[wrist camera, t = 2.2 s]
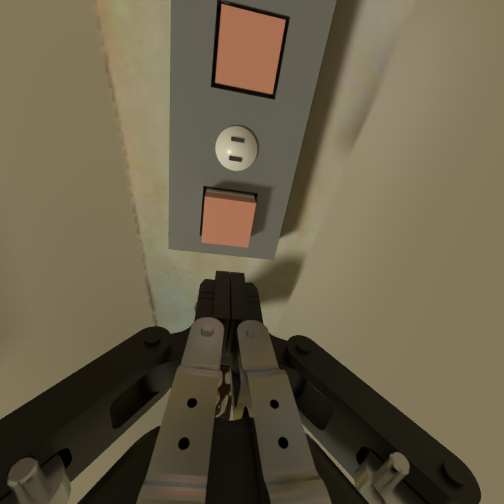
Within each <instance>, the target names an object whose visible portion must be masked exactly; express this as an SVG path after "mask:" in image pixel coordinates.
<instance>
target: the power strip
mask: <svg viewBox="0 0 504 504" xmlns="http://www.w3.org/2000/svg"><path fill="white" fill-rule="evenodd" d="M336 2H337V0H171V56H170V153H169V249H173V250H182V251H192V252H202V253H211V254H221V255H231V256H241V257H250V258H260V259H270V260H274V258H275V254H276V249H277V245H278V241H279V237H280V233H281V229H282V225H283V220H284V216H285V212H286V208H287V204H288V200H289V196H290V192H291V187H292V183H293V179H294V175H295V171H296V167H297V163H298V159H299V154H300V150H301V146H302V142H303V138H304V134H305V130H306V125H307V121H308V117H309V113H310V109H311V105H312V101H313V97H314V92H315V88H316V84H317V80H318V76H319V72H320V68H321V64H322V59H323V55H324V51H325V47H326V43H327V39H328V35H329V30H330V26H331V22H332V18H333V14H334V10H335V6H336ZM222 4H224V5H228V6H232V7H236V8H240V9H244V10H248V11H252V12H256V13H260V14H264V15H268V16H272V17H276V18H280V19H284V20H286V21H285V27H284V32H283V38H282V44H281V49H280V55H279V61H278V66H277V72H276V78H275V84H274V89H273V94H271V95H263V94H258V93H253V92H249V91H244V90H239V89H234V88H229V87H224V86H219V85H216V83H215V79H216V67H217V54H218V42H219V30H220V17H221V5H222ZM207 188H214V189H222V190H229V191H236V192H243V193H250V194H254V198H255V201H256V207H255V213H254V218H253V224H252V229H251V235H250V240H249V246H248V248H247V247H238V246H228V245H219V244H210V243H201V240H202V227H203V214H204V202H205V194H206V190H207Z"/></svg>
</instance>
